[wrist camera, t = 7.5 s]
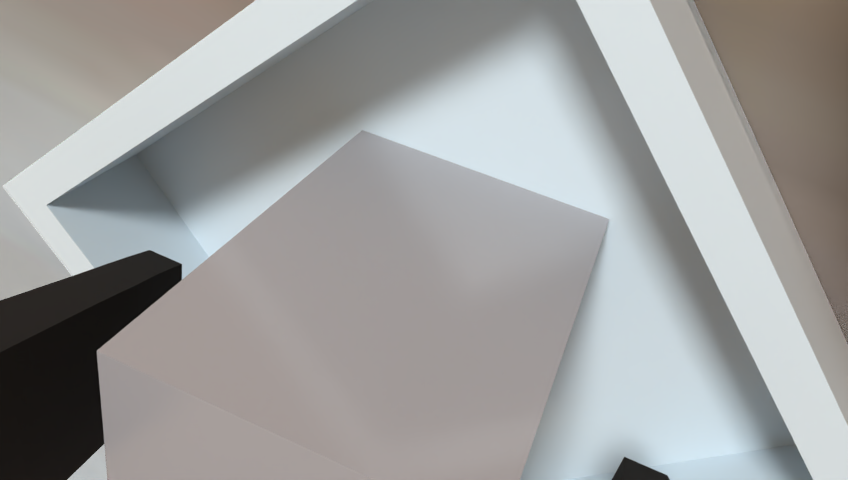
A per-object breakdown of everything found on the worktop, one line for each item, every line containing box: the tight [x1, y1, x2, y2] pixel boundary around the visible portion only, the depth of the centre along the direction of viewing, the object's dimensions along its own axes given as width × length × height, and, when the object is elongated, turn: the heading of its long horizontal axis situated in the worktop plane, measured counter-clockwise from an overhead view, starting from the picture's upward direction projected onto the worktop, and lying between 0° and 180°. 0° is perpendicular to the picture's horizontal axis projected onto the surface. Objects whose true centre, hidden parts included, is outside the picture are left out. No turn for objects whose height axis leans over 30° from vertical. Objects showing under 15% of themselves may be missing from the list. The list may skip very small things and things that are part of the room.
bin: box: [3, 0, 848, 480], centre depth 13 cm, size 11×11×3 cm
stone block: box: [97, 130, 609, 480], centre depth 11 cm, size 4×4×6 cm
